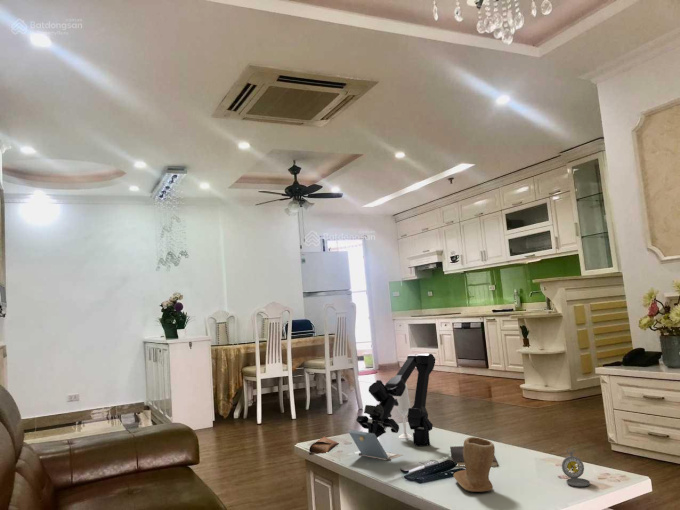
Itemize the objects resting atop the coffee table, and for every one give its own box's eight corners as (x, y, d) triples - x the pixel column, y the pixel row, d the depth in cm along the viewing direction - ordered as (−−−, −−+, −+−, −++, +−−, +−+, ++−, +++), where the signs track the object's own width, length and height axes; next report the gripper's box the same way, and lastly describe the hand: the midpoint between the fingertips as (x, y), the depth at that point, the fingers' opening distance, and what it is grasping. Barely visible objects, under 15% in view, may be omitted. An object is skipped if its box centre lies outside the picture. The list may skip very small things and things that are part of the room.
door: (363, 452, 207) (350, 430, 204) (388, 457, 198) (374, 433, 195) (360, 456, 206) (347, 434, 202) (385, 461, 196) (371, 437, 193)
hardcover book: (453, 468, 187) (452, 461, 187) (450, 452, 209) (450, 446, 210) (498, 467, 184) (497, 460, 185) (491, 451, 207) (490, 445, 207)
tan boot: (503, 493, 155) (498, 442, 157) (464, 496, 155) (459, 444, 157) (489, 479, 170) (484, 432, 172) (453, 481, 170) (449, 434, 172)
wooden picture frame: (375, 452, 214) (374, 448, 214) (404, 458, 202) (404, 453, 203) (358, 457, 207) (358, 453, 207) (388, 463, 196) (388, 458, 196)
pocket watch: (580, 489, 155) (576, 454, 156) (557, 482, 162) (553, 449, 164) (598, 484, 159) (594, 450, 160) (574, 477, 166) (571, 445, 168)
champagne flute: (397, 438, 237) (394, 385, 240) (398, 435, 243) (395, 383, 247) (412, 438, 236) (408, 384, 239) (412, 435, 242) (409, 383, 246)
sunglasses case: (328, 453, 217) (319, 439, 219) (315, 461, 218) (306, 447, 220) (339, 443, 234) (331, 430, 236) (327, 451, 235) (319, 438, 237)
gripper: (357, 395, 213) (340, 428, 204) (392, 397, 200) (375, 433, 191) (371, 411, 218) (355, 444, 209) (406, 415, 204) (390, 450, 195)
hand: (368, 442), depth 201 cm, fingers closed, pressing on door
